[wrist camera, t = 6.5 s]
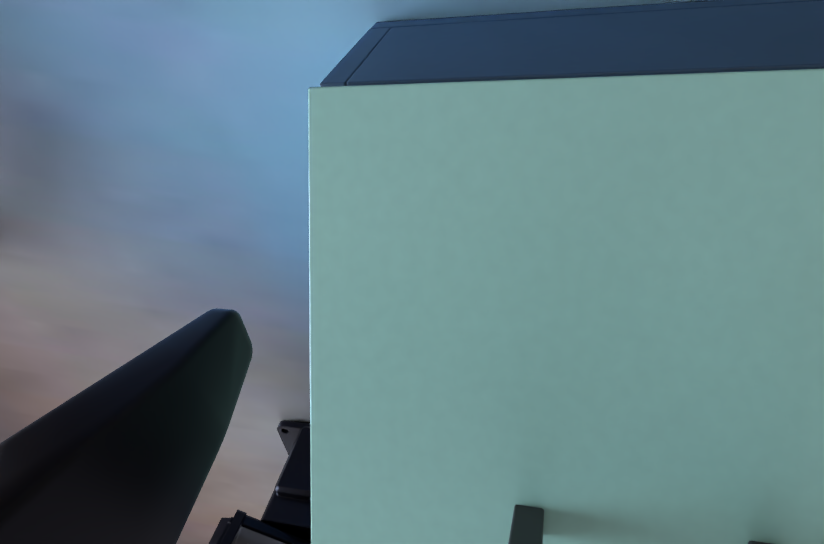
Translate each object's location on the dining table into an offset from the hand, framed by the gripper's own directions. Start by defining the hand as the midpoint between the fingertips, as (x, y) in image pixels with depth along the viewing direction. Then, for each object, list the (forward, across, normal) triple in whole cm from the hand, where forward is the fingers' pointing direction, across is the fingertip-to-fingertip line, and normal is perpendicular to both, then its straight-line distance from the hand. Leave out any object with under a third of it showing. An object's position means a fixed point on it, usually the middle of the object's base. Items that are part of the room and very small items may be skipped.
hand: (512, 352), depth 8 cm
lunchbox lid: (+4, -3, +4) cm, 6 cm away
